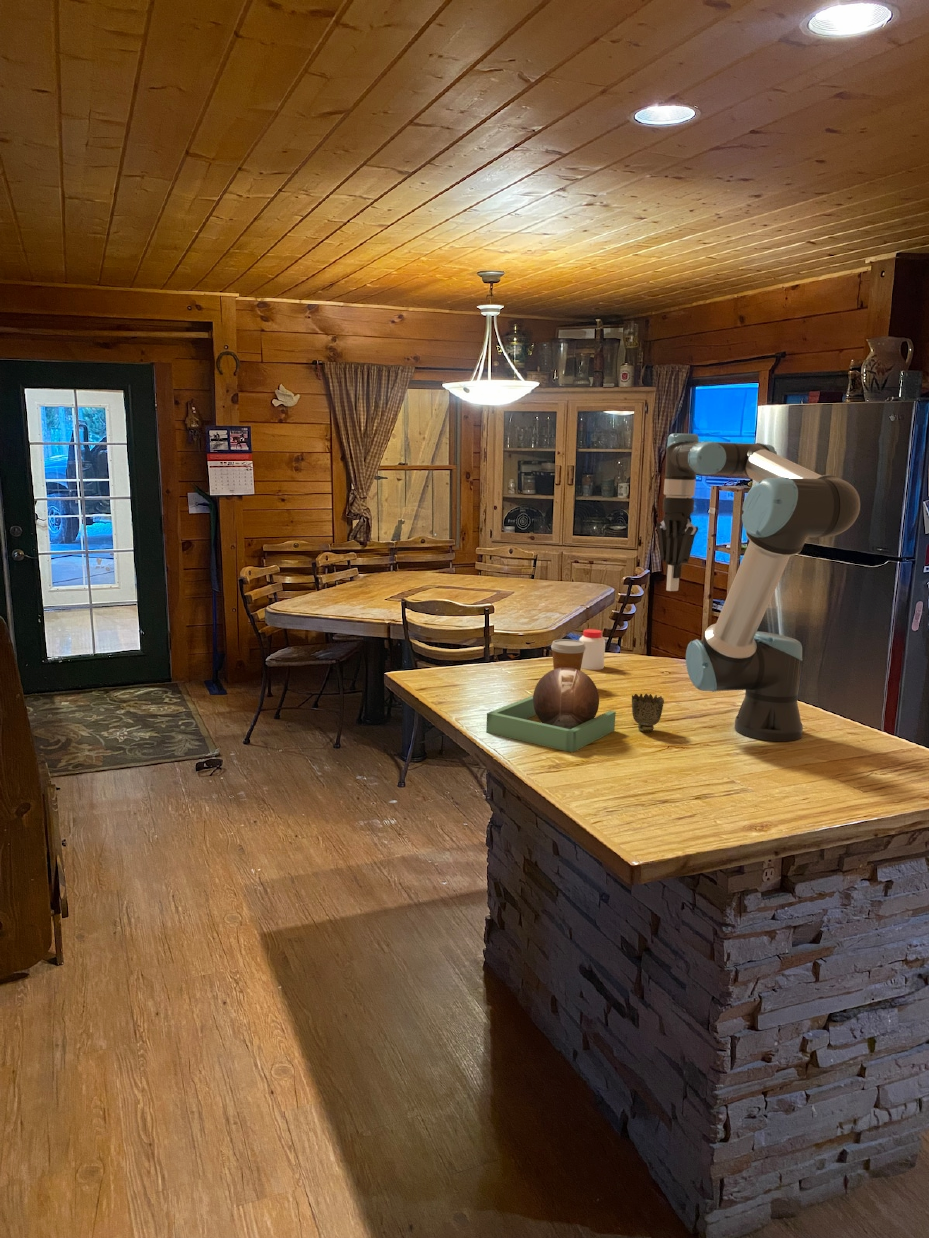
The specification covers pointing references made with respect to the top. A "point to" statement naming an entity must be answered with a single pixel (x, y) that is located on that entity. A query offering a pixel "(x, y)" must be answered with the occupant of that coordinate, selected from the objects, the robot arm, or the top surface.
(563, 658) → the disposable coffee cup
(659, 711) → the cup
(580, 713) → the wooden sphere
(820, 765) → the top surface
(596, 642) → the pill bottle
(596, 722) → the green bracket
